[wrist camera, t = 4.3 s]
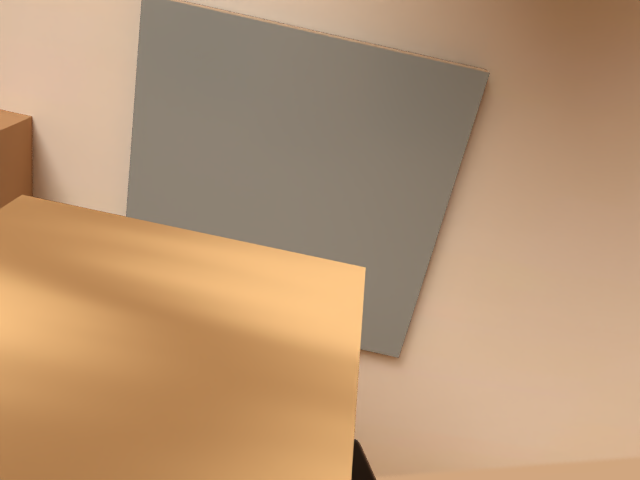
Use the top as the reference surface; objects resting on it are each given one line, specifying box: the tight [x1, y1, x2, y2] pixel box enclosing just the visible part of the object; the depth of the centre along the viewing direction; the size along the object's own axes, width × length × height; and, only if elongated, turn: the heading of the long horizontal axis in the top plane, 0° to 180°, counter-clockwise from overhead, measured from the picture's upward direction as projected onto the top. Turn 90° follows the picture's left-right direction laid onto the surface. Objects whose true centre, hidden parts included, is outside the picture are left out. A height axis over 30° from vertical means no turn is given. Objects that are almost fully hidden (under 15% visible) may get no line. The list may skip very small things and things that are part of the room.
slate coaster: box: [126, 0, 490, 358], centre depth 19 cm, size 10×10×1 cm
